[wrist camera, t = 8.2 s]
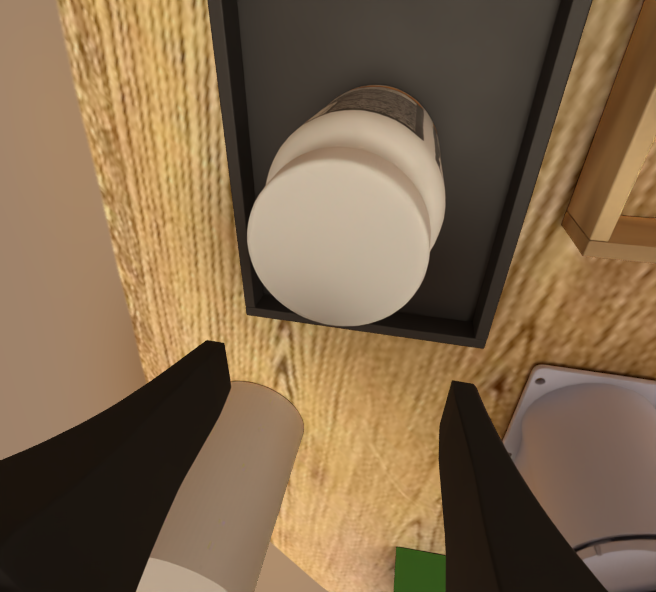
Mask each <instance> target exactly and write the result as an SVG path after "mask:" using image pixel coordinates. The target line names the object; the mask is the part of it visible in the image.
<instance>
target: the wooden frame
mask: <svg viewBox="0 0 656 592" xmlns="http://www.w3.org/2000/svg"><path fill="white" fill-rule="evenodd" d="M655 137H656V0H645V1H644V4H643V7H642V9H641V12H640V15H639V17H638V20H637V23H636V26H635V28H634V31H633V34H632V36H631V39H630V42H629V44H628V47H627V50H626V53H625V55H624V58H623V61H622V63H621V66H620V69H619V71H618V74H617V77H616V80H615V82H614V85H613V88H612V90H611V93H610V96H609V98H608V101H607V104H606V107H605V109H604V112H603V115H602V117H601V120H600V123H599V125H598V128H597V131H596V134H595V136H594V139H593V142H592V144H591V147H590V150H589V152H588V155H587V158H586V161H585V163H584V166H583V169H582V171H581V174H580V177H579V180H578V182H577V185H576V188H575V190H574V193H573V196H572V198H571V201H570V204H569V207H568V209H567V210H568V211H566V214H565V216H564V219H563V222H562V226H563V228H564V229H565V231H566V232H567V233H568V235H569V236H570V238H571V239H572V241H573V242H574V244H575V245H576V247H577V248H578V250H579V251H580V253H581V254H582V256H585V257H595V258H605V259H615V260H625V261H634V262H644V263H654V264H656V219H655V218H643V217H632V216H620V215H621V212H622V210H623V208H624V206H625V204H626V201H627V199H628V197H629V195H630V192H631V190H632V188H633V186H634V184H635V181H636V179H637V177H638V175H639V173H640V170H641V168H642V166H643V164H644V162H645V159H646V157H647V155H648V153H649V151H650V148H651V146H652V144H653V142H654V139H655Z"/></svg>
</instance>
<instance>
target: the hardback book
mask: <svg viewBox="0 0 656 592" xmlns="http://www.w3.org/2000/svg"><path fill="white" fill-rule="evenodd" d="M394 592H446V556H444V555H439V554H433V553H428V552H422V551H417V550H411V549H406V548H400V547H396V562H395V578H394Z"/></svg>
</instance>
